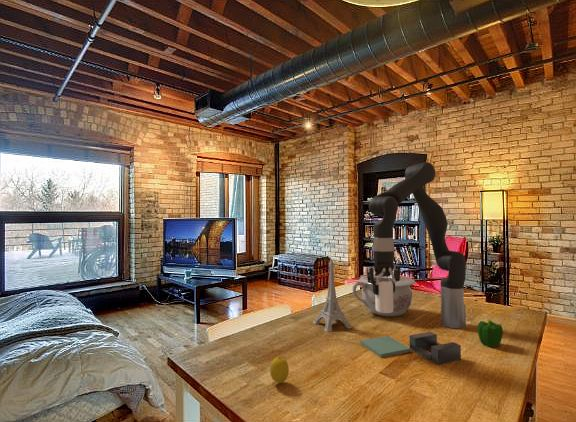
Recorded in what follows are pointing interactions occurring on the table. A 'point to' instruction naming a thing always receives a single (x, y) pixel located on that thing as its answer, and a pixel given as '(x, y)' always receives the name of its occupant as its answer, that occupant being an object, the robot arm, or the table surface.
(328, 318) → the eiffel tower
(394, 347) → the mat
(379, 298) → the can
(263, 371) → the table surface
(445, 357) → the block
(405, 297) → the chamber pot
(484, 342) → the bell pepper
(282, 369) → the lemon
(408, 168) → the robot arm
